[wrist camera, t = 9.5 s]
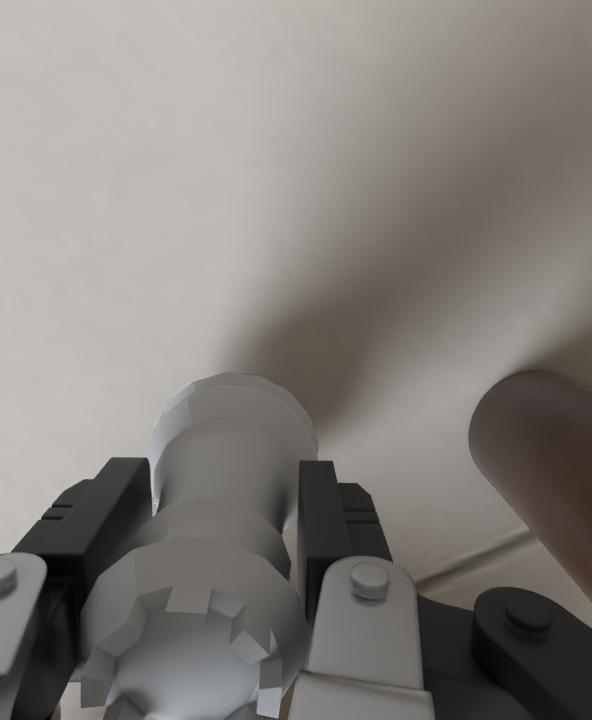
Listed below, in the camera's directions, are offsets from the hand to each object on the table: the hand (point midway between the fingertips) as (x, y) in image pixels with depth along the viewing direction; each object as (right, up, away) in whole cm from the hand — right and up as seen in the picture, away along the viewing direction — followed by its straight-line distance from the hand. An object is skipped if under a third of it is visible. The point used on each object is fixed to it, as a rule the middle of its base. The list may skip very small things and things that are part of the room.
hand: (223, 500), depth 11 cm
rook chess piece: (0, +1, +3) cm, 3 cm away
